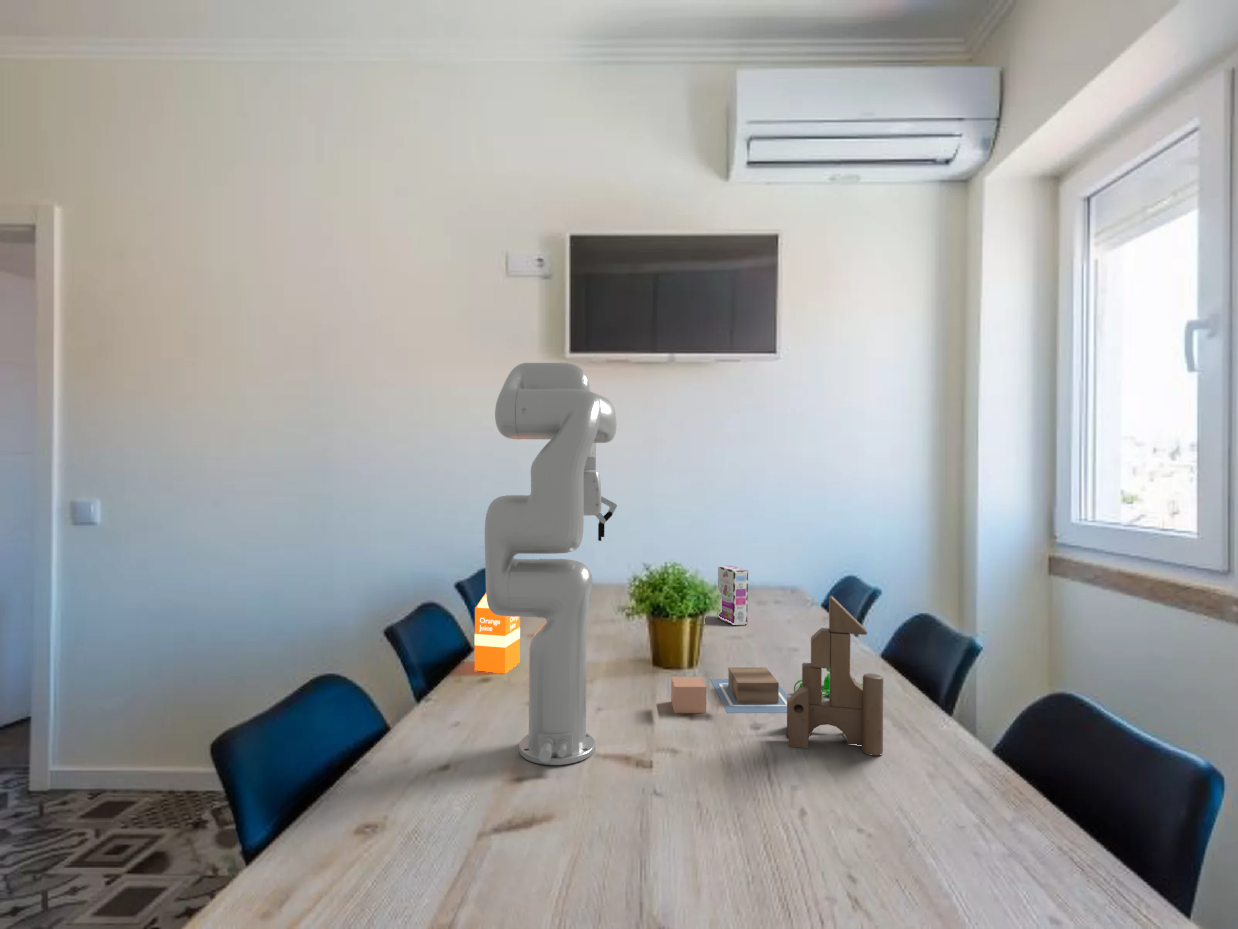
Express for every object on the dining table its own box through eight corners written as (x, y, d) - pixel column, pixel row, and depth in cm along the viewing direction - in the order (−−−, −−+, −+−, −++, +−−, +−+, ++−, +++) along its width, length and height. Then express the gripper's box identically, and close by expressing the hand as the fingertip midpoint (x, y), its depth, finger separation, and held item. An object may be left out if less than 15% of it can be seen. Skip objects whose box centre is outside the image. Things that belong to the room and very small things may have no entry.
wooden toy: (786, 747, 114) (787, 599, 114) (787, 732, 121) (788, 592, 121) (884, 758, 110) (885, 605, 110) (879, 741, 117) (880, 597, 117)
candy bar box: (748, 625, 201) (749, 570, 201) (733, 626, 199) (733, 571, 199) (731, 617, 212) (731, 564, 212) (716, 618, 210) (717, 565, 210)
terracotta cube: (706, 718, 127) (706, 686, 127) (674, 718, 127) (674, 686, 127) (701, 707, 133) (701, 676, 133) (671, 707, 133) (671, 676, 133)
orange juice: (473, 671, 155) (474, 583, 155) (490, 660, 163) (490, 577, 163) (505, 674, 153) (506, 585, 153) (520, 663, 161) (521, 579, 161)
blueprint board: (801, 717, 127) (801, 712, 127) (727, 718, 127) (727, 712, 127) (774, 683, 147) (774, 678, 147) (710, 683, 147) (710, 678, 147)
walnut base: (778, 703, 132) (778, 682, 132) (737, 703, 132) (738, 682, 132) (766, 686, 142) (766, 667, 142) (728, 686, 142) (728, 667, 142)
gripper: (540, 465, 151) (539, 542, 151) (617, 466, 152) (617, 542, 152) (542, 465, 159) (542, 538, 159) (616, 466, 159) (615, 538, 159)
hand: (578, 540), depth 155 cm, fingers open, 9 cm apart
